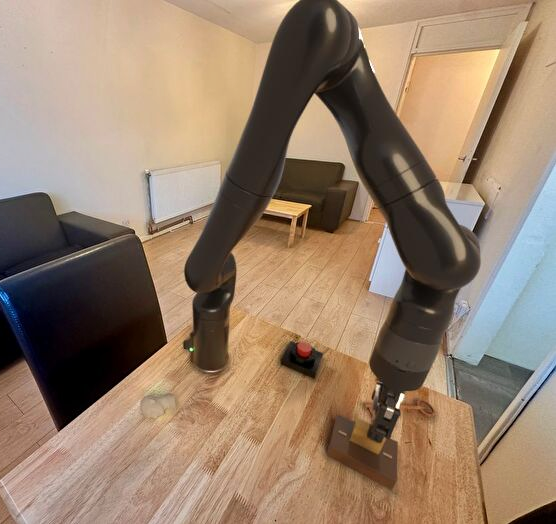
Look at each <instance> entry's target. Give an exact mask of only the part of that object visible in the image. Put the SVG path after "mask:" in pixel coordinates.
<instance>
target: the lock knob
mask: <svg viewBox="0 0 556 524" xmlns="http://www.w3.org/2000/svg"><path fill="white" fill-rule="evenodd" d="M354 422H355V424H354V426H353V429H352V432H351V435H350V441H352V442H354V443H356V444H358V445H360V446H362V447H364V448H366V449H368V450H370V451H372V452H374V453H376V454H378V455H379V453H380V451H381V449H382V446H383V444H384V442H385V440H386V438H385V437H384V438H383V440H382V443H377V442H375V441H373V440H371V439H369V438H368V437H367V431H368V429H369V426H370V424H371V422H368V421H366V420H363V419H361V418H359V417H356V418H355V420H354Z"/></svg>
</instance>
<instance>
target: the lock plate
mask: <svg viewBox="0 0 556 524" xmlns="http://www.w3.org/2000/svg"><path fill="white" fill-rule="evenodd" d="M354 424H355V420H352V419H349V418H348V417H346V416H344V415H341V414H339V413H337V414H336V417H335V420H334V424H333V426H332V427H333V428H332V432H331V436H330V441H329V444H328V449H327V453H326V456H327V457H329V458H331V459H333V460H335V461H336V462H338V463H340V464H342V465H344V466H346V467H347V468H350V469H351V470H353V471H355V472H356V473H359V474H360V475H362V476H364V477H366V478H368V479H370V480H372V481H373V482H375V483H377V484H379V485H381V486H382V487H385V488H386V489H388V490H390V491H393V488H394V487H395V485H396V483H397V482H398V481H397V480H398V448H399V442H398V441H397V440H394V439H392V438H390V439H387V438H386V440H385V442H384V444H383V446H382V449H381V451H380V453H379V455H378V454H376V453H374V452H372V451H370V450H368V449H366V448H364V447H362V446H360V445H358V444H356V443H354V442H352V441H350V435H351V432H352V429H353V426H354Z"/></svg>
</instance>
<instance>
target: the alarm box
mask: <svg viewBox="0 0 556 524" xmlns="http://www.w3.org/2000/svg"><path fill="white" fill-rule="evenodd" d="M300 342H301V341H298V342H297V341H296V342H294V341H292V340H290V341H289V343H288V344H287V346H286V348H285V351H284V353H283V355H282V356H281V359H280V365H281V366H284V367H286V368H287V369H290V370H293V371H295V372H297V373H299V374H302V375H304V376H307V377H309V378H311V379H314V380H315V379H316V376H317V374H318V372H319V368H320V366H321V362H322V360H323V357H324V352H321V351H318V350H316V349H315V347H313V346H312V345H311V344H309V345H310V346H311V348H312V349H311V354H310V355H309V356H308V357H303V356H301V355H299V354H298V353H297V351H296V350H297V345H298V343H300Z"/></svg>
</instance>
